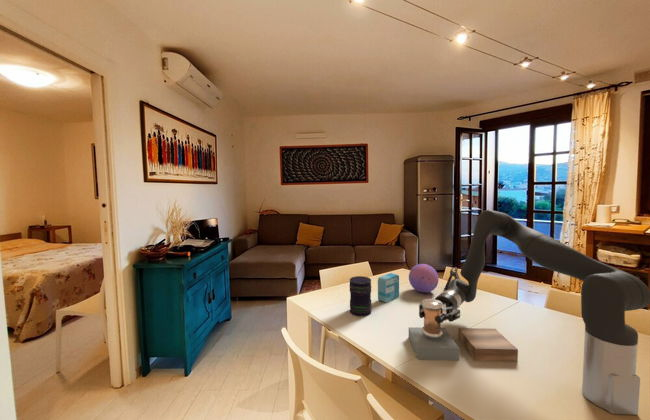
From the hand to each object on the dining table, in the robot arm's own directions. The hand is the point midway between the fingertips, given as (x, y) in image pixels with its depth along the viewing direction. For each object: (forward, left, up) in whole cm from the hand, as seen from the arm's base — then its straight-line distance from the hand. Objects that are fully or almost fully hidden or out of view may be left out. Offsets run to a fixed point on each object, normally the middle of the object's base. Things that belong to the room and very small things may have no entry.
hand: (429, 317), depth 92 cm
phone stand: (+58, -31, -12) cm, 67 cm away
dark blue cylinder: (+30, +21, -12) cm, 39 cm away
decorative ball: (+55, -14, -12) cm, 58 cm away
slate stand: (+2, -2, -12) cm, 12 cm away
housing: (+2, -2, -6) cm, 7 cm away
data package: (+45, +6, -12) cm, 47 cm away
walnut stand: (+2, -20, -12) cm, 23 cm away
